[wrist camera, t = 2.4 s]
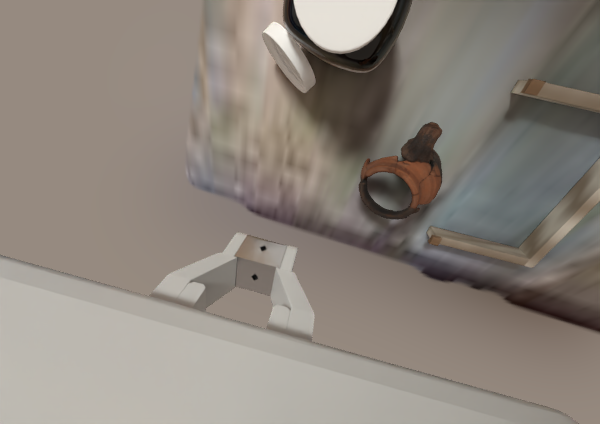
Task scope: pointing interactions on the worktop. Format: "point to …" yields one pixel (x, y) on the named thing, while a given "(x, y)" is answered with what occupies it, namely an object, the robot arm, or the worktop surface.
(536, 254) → the wooden u-shaped frame
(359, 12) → the spread jar
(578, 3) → the worktop surface
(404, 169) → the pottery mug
